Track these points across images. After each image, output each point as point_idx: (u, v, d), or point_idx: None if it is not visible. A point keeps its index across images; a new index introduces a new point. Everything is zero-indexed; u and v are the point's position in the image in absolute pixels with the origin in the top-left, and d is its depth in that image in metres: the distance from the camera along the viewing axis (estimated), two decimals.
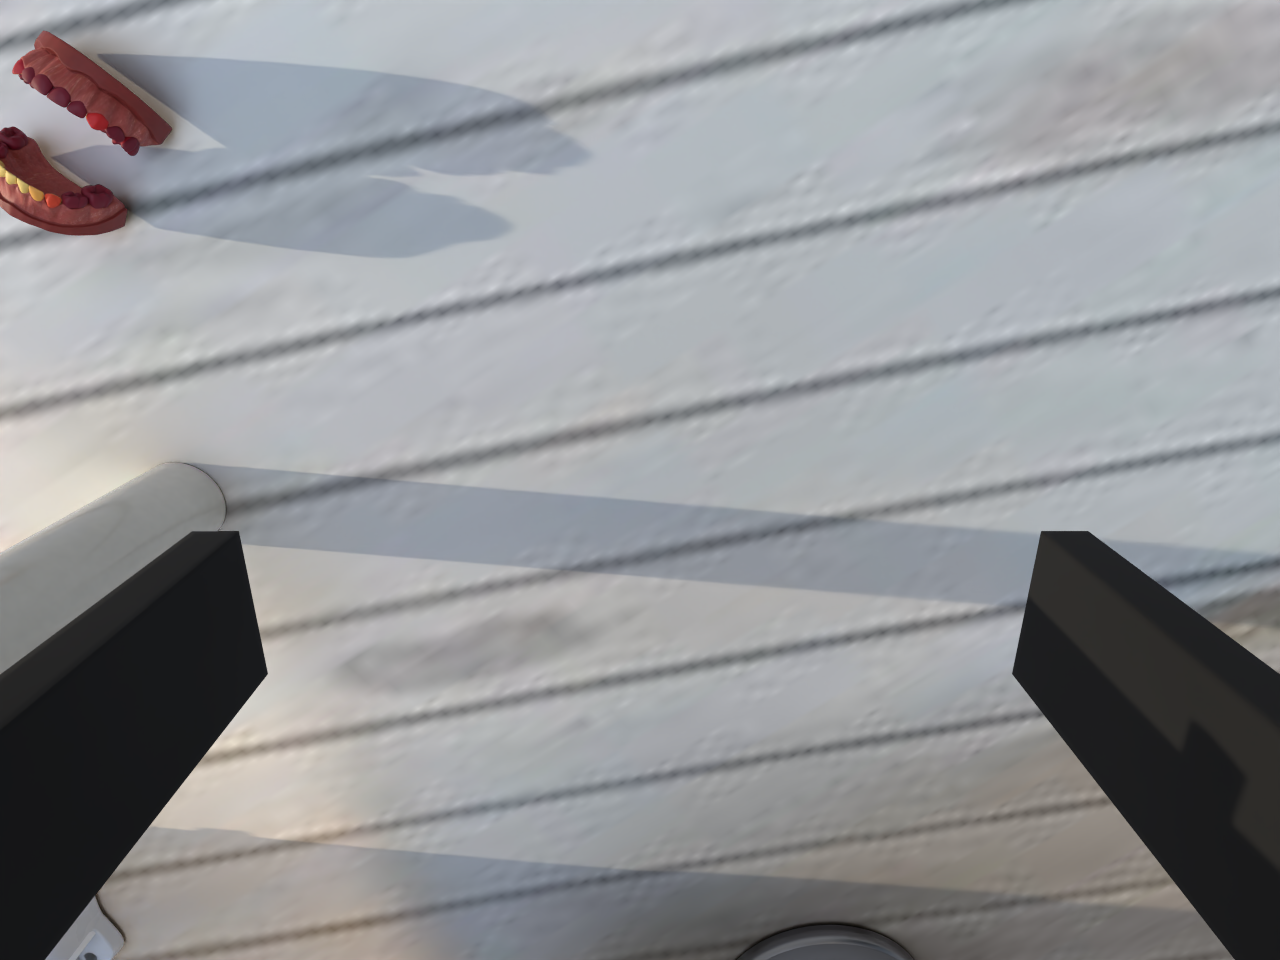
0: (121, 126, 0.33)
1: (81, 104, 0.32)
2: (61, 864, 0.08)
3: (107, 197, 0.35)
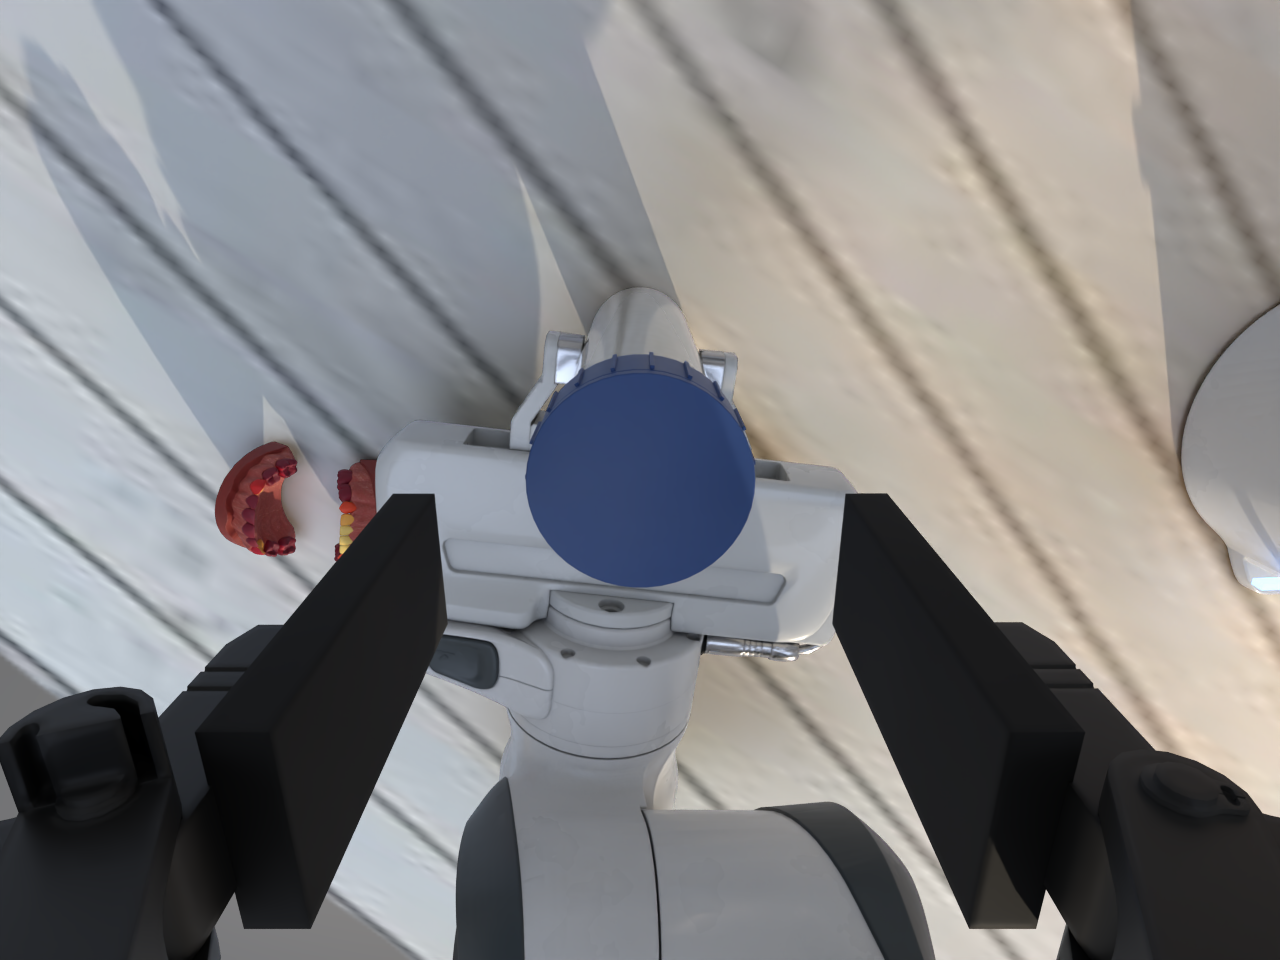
0: (261, 470, 0.36)
1: (247, 499, 0.36)
2: (358, 761, 0.10)
3: (341, 472, 0.37)
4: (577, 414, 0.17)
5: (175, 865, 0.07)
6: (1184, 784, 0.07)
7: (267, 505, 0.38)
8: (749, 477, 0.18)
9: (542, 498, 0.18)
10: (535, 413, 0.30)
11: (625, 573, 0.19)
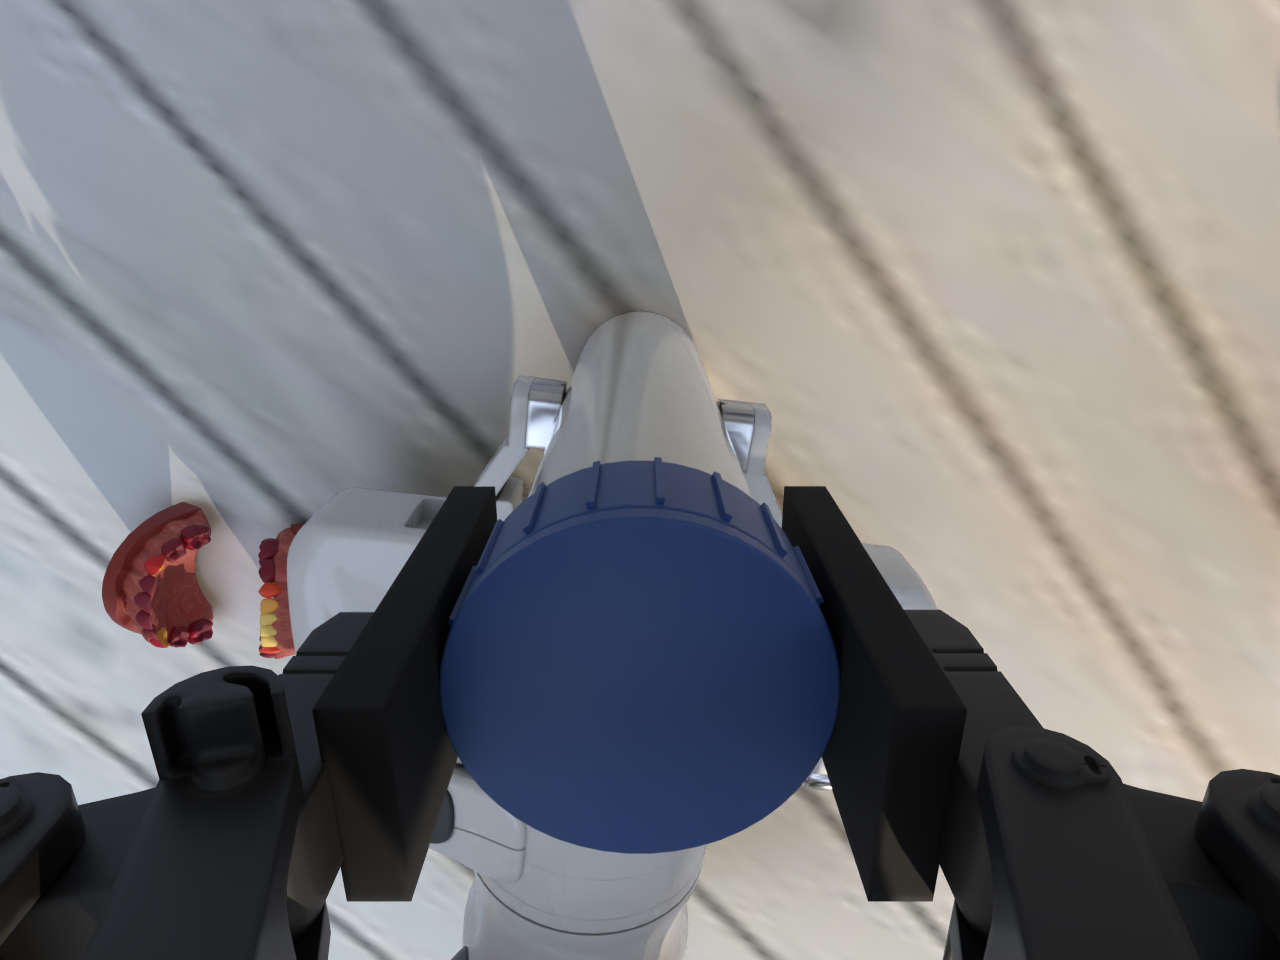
0: (161, 543, 0.29)
1: (141, 581, 0.28)
2: (443, 743, 0.10)
3: (265, 542, 0.30)
4: (526, 587, 0.10)
5: (296, 841, 0.07)
6: (1050, 756, 0.07)
7: (176, 581, 0.31)
8: (830, 688, 0.10)
9: (469, 721, 0.10)
10: (500, 486, 0.23)
11: (614, 833, 0.11)
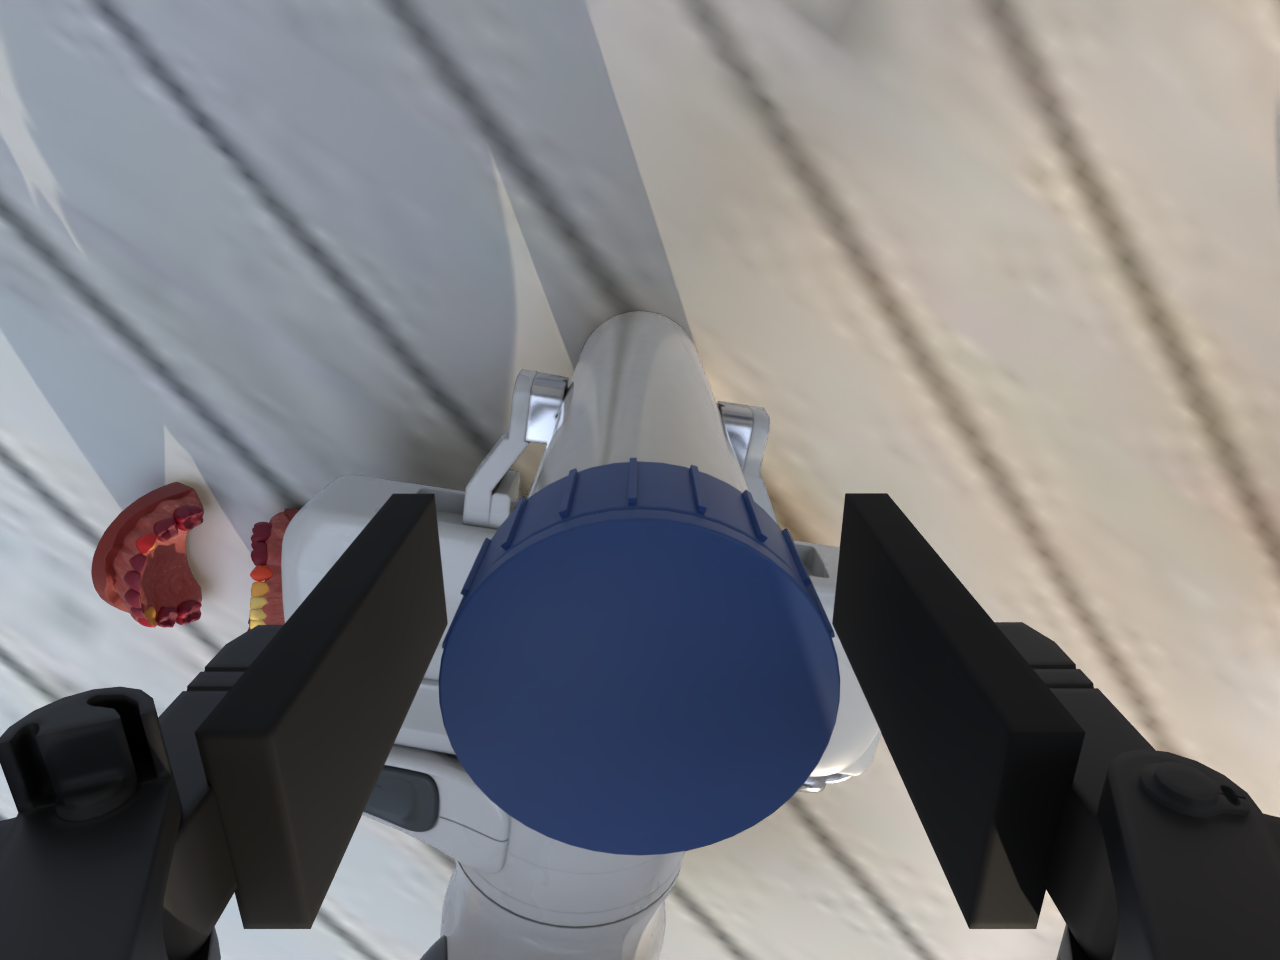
0: (153, 522, 0.29)
1: (132, 560, 0.28)
2: (358, 762, 0.10)
3: (258, 526, 0.30)
4: (479, 736, 0.10)
5: (175, 865, 0.07)
6: (1183, 783, 0.07)
7: (166, 561, 0.31)
8: (712, 541, 0.09)
9: (589, 831, 0.11)
10: (498, 479, 0.23)
11: (774, 781, 0.11)
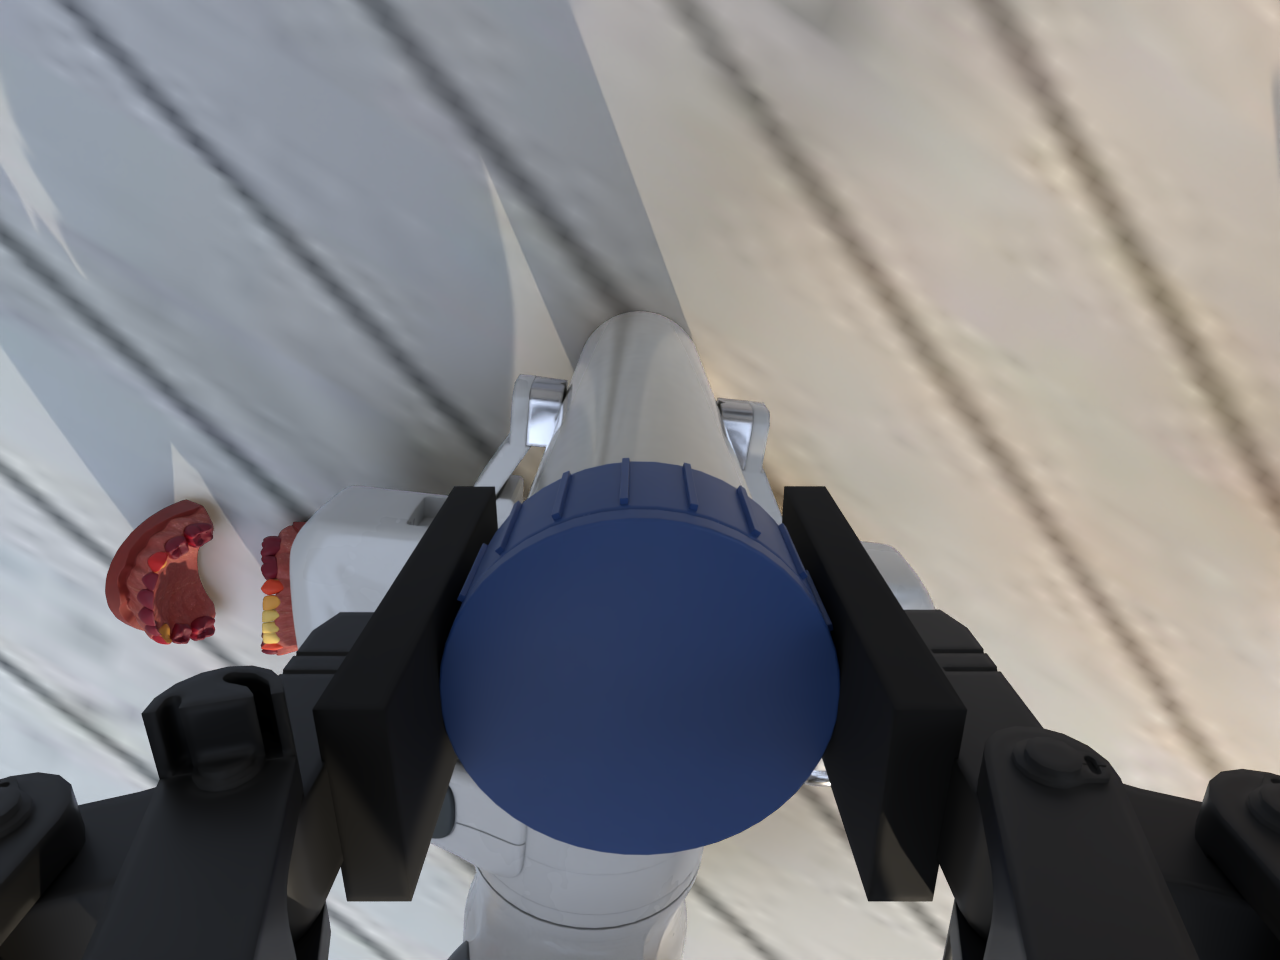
0: (163, 540, 0.29)
1: (144, 578, 0.28)
2: (443, 744, 0.10)
3: (267, 540, 0.30)
4: (481, 741, 0.10)
5: (296, 841, 0.07)
6: (1051, 757, 0.07)
7: (178, 578, 0.31)
8: (705, 538, 0.09)
9: (595, 832, 0.11)
10: (501, 484, 0.23)
11: (779, 777, 0.11)
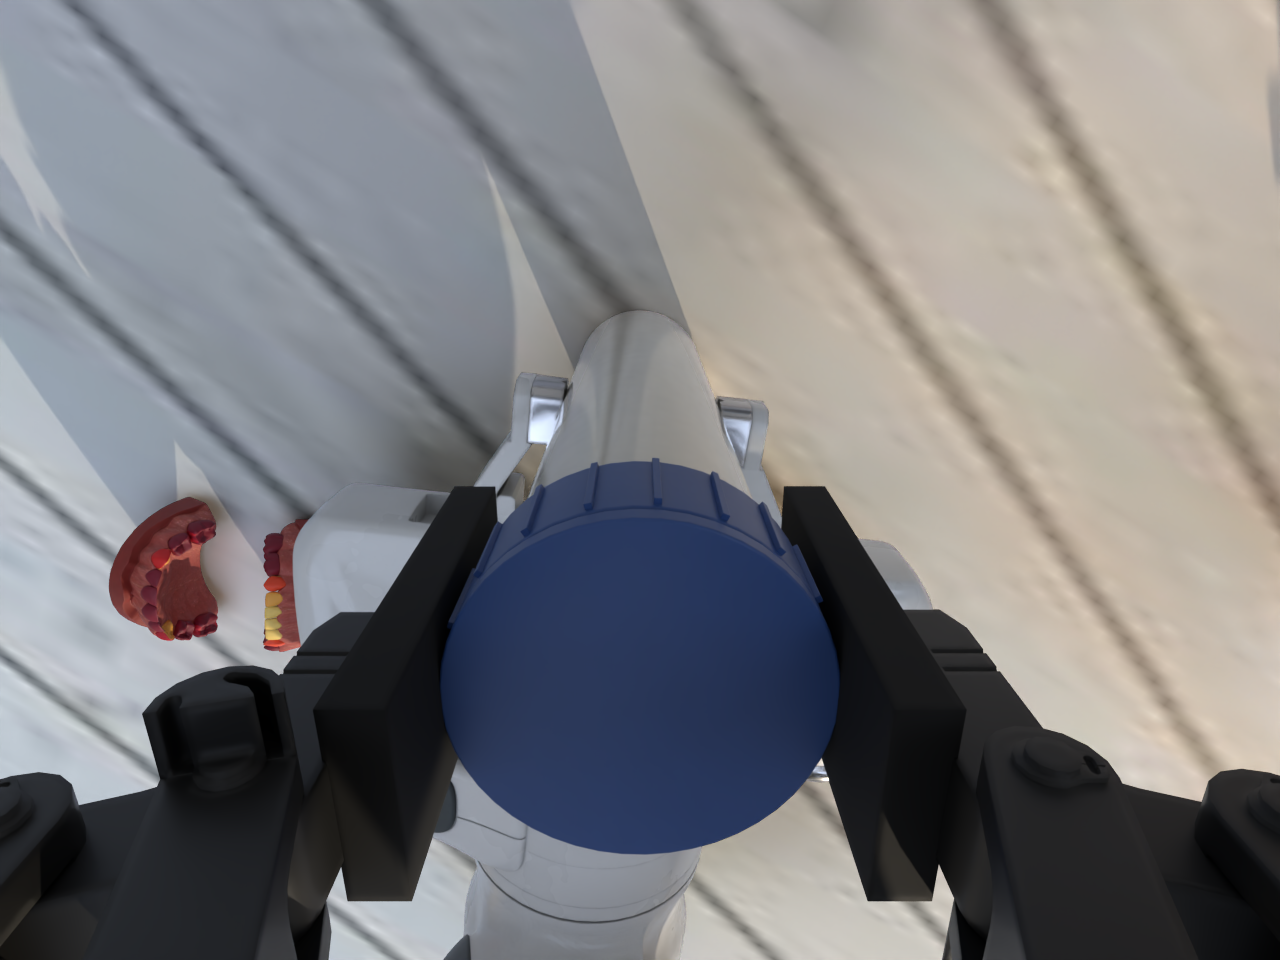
0: (167, 537, 0.29)
1: (148, 575, 0.28)
2: (443, 744, 0.10)
3: (269, 537, 0.30)
4: (620, 831, 0.11)
5: (297, 841, 0.07)
6: (1051, 757, 0.07)
7: (181, 575, 0.31)
8: (489, 590, 0.10)
9: (768, 790, 0.11)
10: (502, 481, 0.23)
11: (789, 618, 0.10)
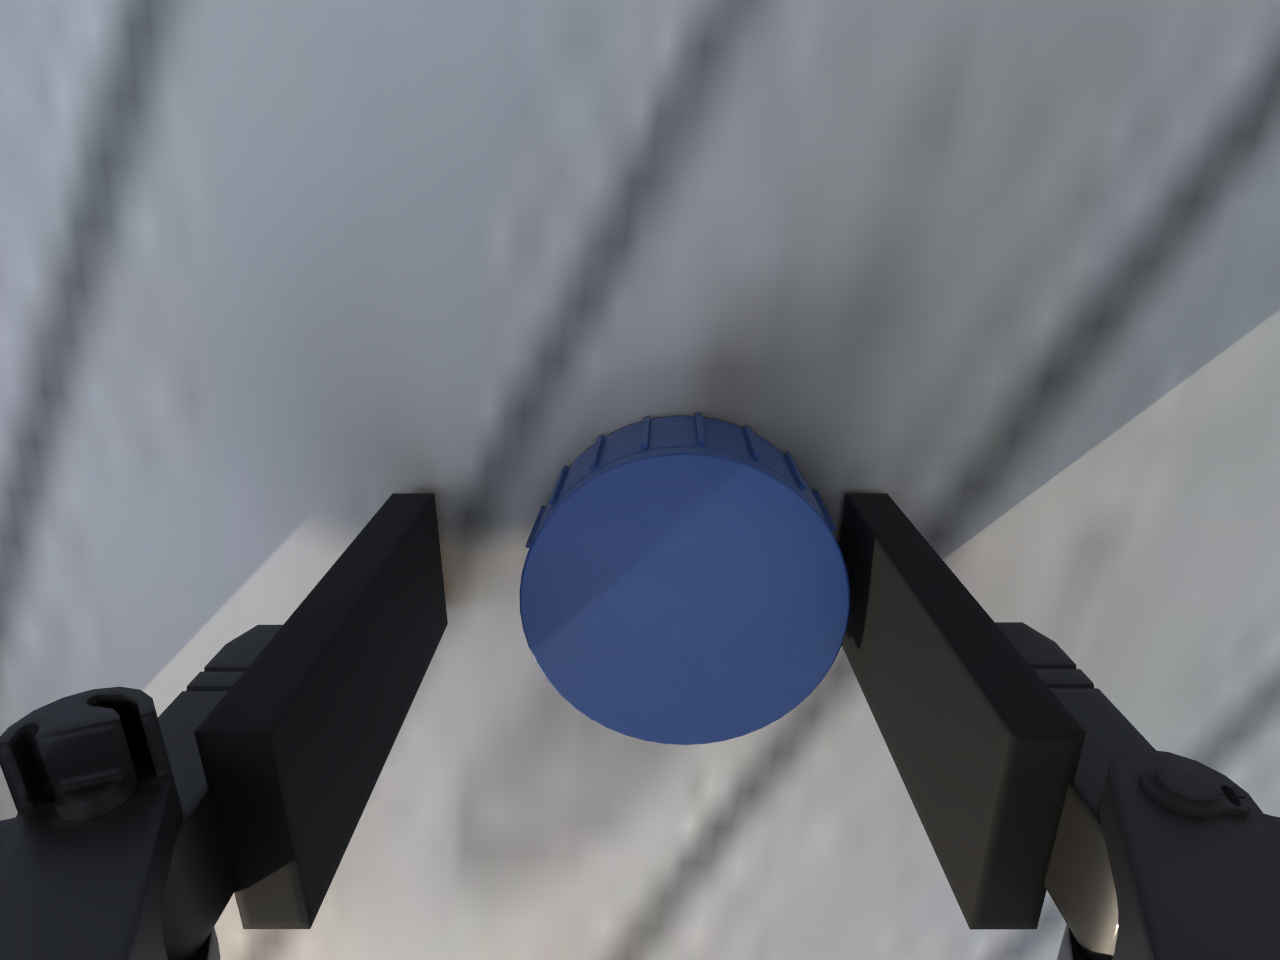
0: None
1: None
2: (358, 761, 0.10)
3: None
4: (664, 723, 0.13)
5: (175, 865, 0.07)
6: (1184, 783, 0.07)
7: None
8: (564, 512, 0.12)
9: (788, 689, 0.13)
10: None
11: (807, 540, 0.12)
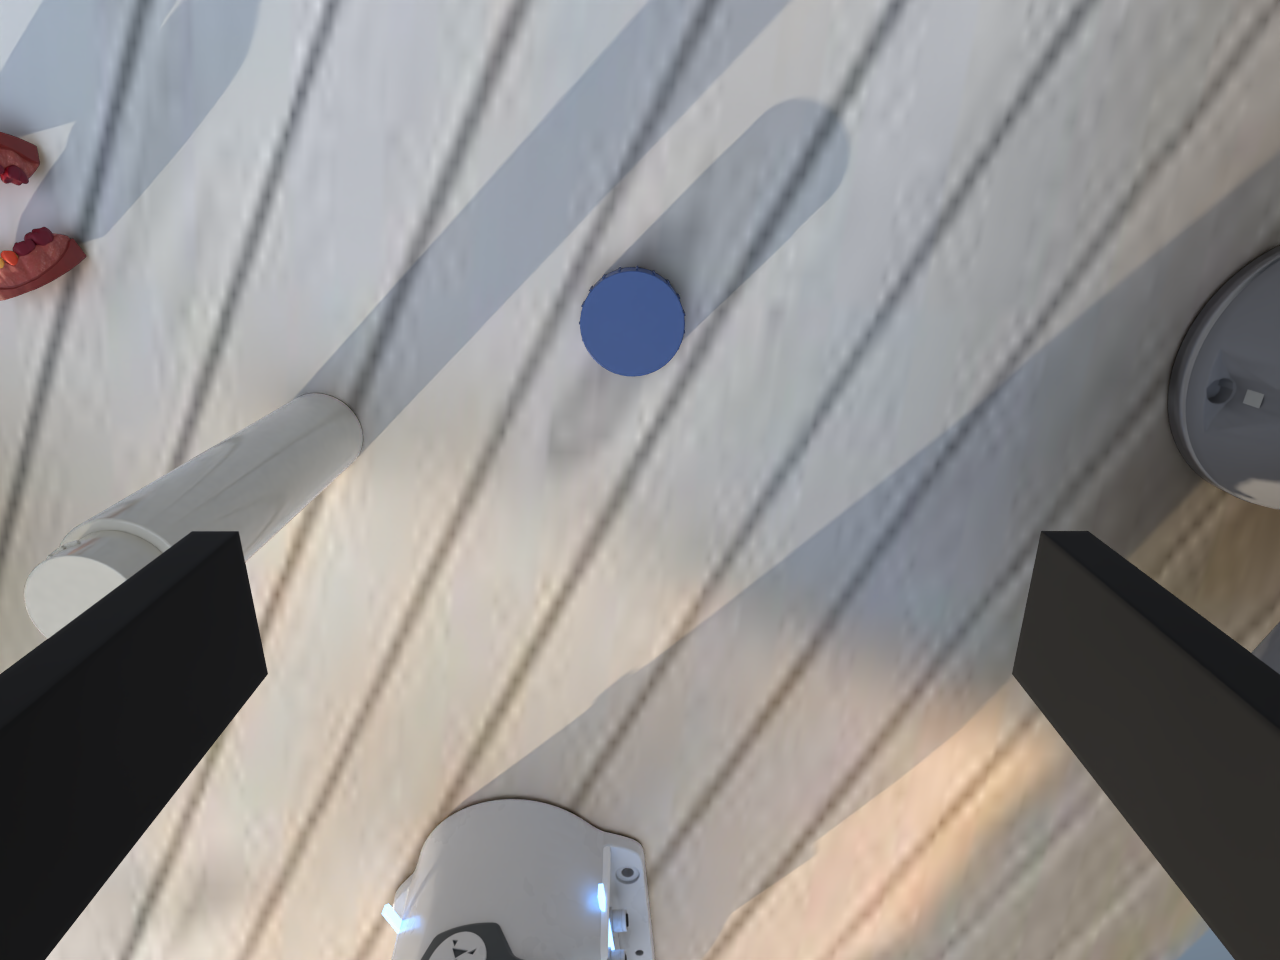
0: None
1: None
2: (61, 865, 0.08)
3: (44, 231, 0.38)
4: (627, 367, 0.40)
5: None
6: None
7: None
8: (594, 291, 0.38)
9: (667, 353, 0.40)
10: None
11: (669, 299, 0.39)
